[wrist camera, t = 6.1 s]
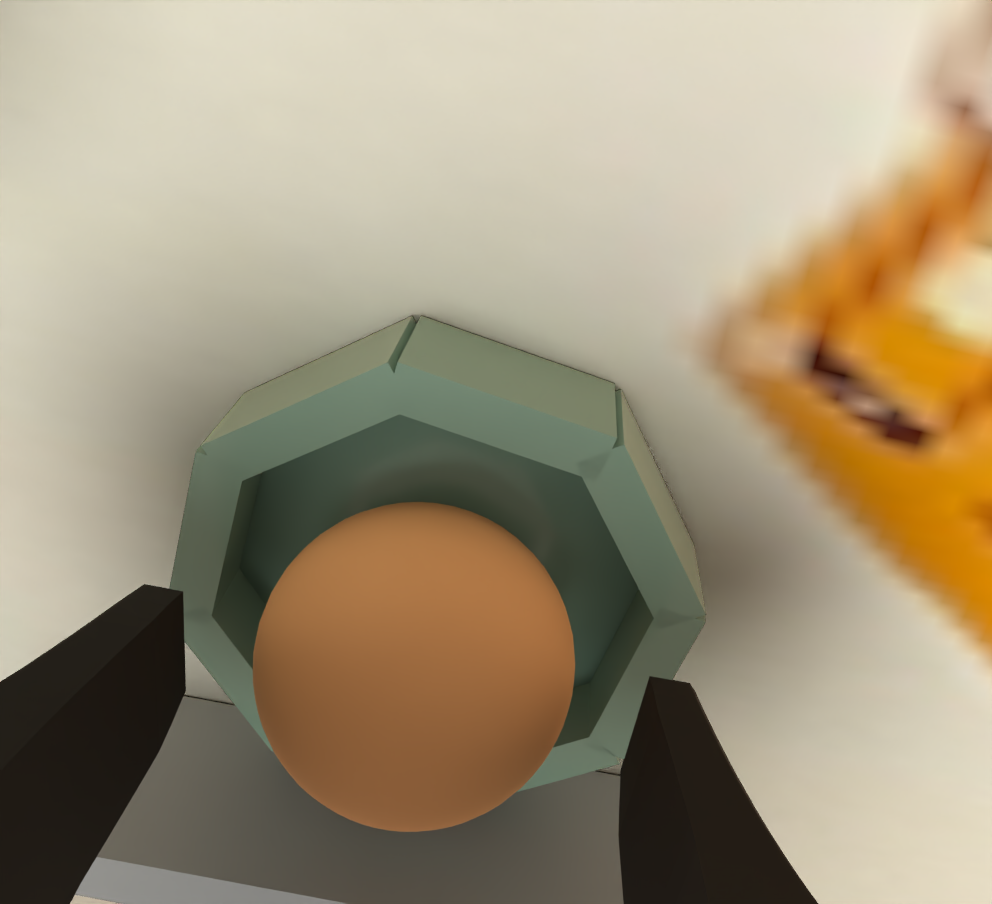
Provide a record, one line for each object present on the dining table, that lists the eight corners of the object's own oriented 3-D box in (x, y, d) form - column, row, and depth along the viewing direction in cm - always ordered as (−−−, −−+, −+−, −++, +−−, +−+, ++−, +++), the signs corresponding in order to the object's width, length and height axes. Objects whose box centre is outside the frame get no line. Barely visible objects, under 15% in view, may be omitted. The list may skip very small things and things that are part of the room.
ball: (618, 631, 17) (629, 866, 12) (384, 701, 18) (318, 935, 14) (507, 405, 15) (470, 588, 10) (254, 503, 16) (127, 699, 12)
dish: (743, 649, 17) (759, 725, 16) (364, 762, 20) (341, 840, 18) (555, 249, 14) (550, 289, 12) (129, 445, 17) (74, 501, 15)
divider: (693, 789, 19) (714, 972, 16) (679, 826, 20) (697, 1011, 16) (52, 671, 19) (-67, 826, 16) (57, 712, 20) (-58, 870, 17)
